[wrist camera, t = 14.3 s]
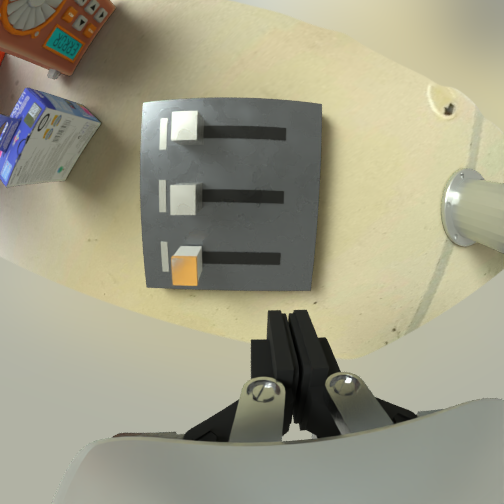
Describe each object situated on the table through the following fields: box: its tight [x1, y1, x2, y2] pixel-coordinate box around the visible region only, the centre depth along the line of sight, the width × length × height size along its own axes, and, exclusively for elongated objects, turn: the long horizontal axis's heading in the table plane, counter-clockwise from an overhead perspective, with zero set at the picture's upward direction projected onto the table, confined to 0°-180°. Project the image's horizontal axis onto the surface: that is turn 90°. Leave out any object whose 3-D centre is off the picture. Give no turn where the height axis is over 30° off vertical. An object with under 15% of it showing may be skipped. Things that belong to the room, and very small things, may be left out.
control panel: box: [0, 0, 116, 79], centre depth 14 cm, size 21×7×15 cm
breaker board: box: [140, 98, 322, 291], centre depth 29 cm, size 20×22×8 cm
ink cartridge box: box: [0, 88, 101, 187], centre depth 22 cm, size 10×6×14 cm, turn 138°
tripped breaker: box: [171, 246, 202, 286], centre depth 29 cm, size 2×3×4 cm
